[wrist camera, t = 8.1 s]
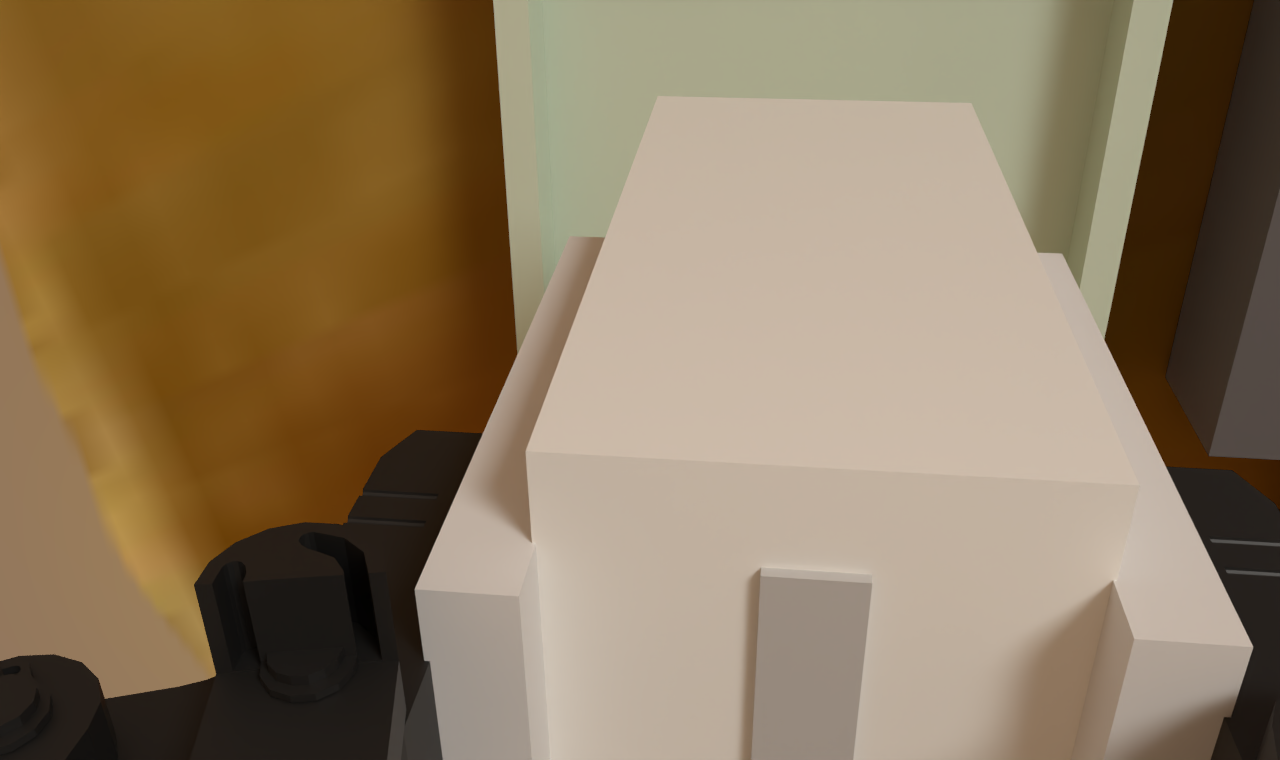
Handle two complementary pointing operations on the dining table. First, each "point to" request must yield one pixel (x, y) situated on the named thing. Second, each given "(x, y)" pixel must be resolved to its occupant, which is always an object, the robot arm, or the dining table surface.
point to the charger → (821, 454)
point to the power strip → (1238, 269)
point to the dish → (830, 70)
